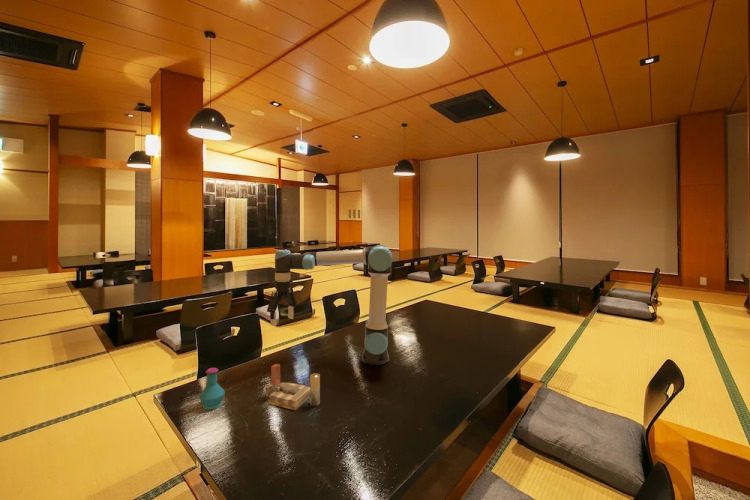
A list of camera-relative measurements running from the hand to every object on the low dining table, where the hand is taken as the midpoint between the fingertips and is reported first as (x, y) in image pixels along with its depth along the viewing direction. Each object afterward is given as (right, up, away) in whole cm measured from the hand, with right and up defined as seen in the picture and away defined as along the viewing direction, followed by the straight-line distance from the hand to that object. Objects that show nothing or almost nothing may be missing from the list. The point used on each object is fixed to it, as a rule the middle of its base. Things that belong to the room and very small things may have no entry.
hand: (282, 321), depth 165 cm
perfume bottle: (-19, -27, -32) cm, 46 cm away
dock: (+9, -27, -26) cm, 39 cm away
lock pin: (+9, -23, -26) cm, 36 cm away
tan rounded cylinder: (+22, -28, -30) cm, 46 cm away
